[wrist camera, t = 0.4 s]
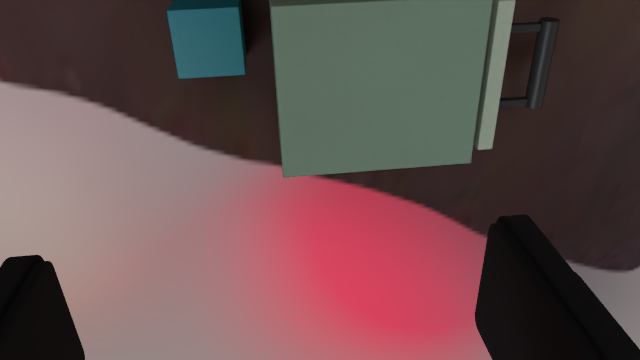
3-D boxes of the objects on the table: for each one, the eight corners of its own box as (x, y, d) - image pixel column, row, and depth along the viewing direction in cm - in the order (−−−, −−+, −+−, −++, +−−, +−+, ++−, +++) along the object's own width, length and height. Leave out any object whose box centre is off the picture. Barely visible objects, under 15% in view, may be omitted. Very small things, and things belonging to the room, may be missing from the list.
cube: (175, -5, 41) (166, 10, 36) (240, -8, 41) (238, 6, 37) (185, 58, 43) (178, 79, 39) (246, 54, 44) (245, 75, 39)
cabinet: (449, -29, 42) (494, -6, 34) (436, 116, 48) (470, 163, 41) (267, -20, 41) (270, 6, 33) (278, 127, 47) (283, 177, 39)
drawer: (536, -23, 42) (585, -4, 36) (513, 108, 48) (551, 144, 42) (308, -12, 41) (318, 10, 34) (313, 122, 46) (322, 162, 40)
